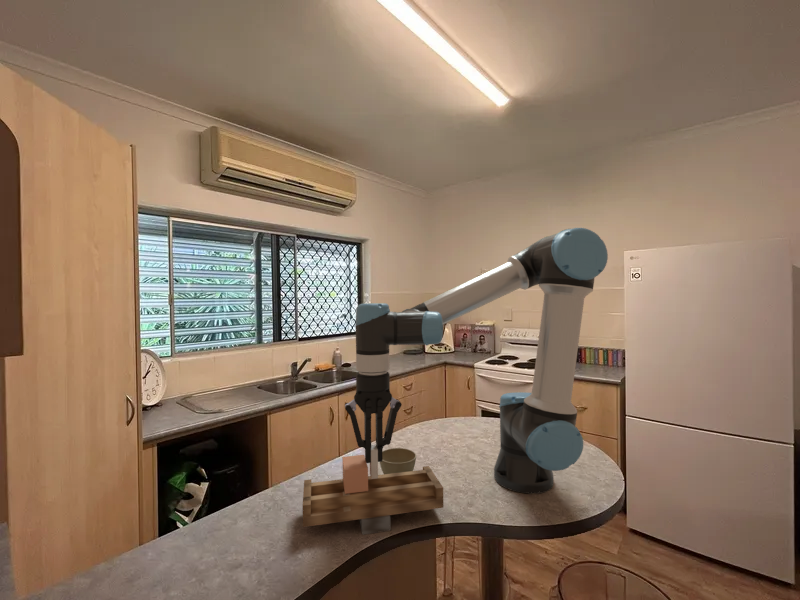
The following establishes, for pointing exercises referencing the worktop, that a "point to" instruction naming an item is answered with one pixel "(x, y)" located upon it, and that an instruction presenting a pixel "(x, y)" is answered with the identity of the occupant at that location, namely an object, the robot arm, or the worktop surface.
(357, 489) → the block
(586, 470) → the worktop surface
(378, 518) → the wooden crate
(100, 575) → the worktop surface
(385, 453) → the flower pot
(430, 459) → the worktop surface
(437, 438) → the worktop surface
